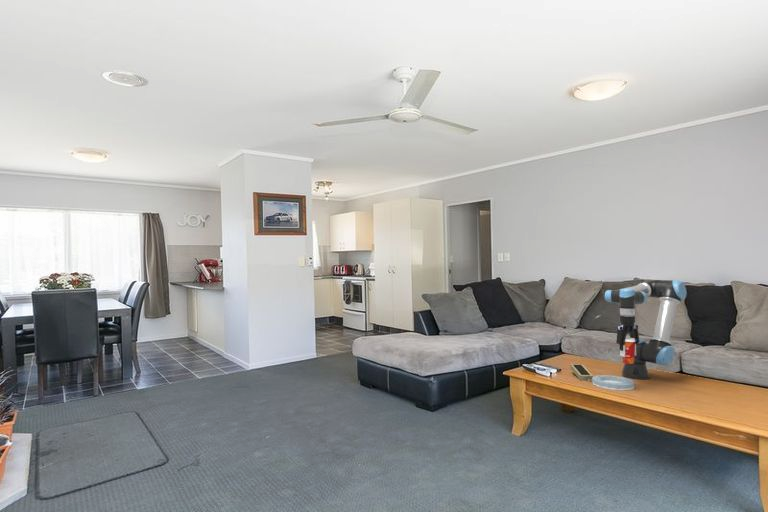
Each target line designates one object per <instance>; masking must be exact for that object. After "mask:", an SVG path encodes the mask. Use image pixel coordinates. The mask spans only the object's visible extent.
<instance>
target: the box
mask: <svg viewBox="0 0 768 512" xmlns="http://www.w3.org/2000/svg"><path fill="white" fill-rule="evenodd" d="M569 365H570V370H571V371H572V373H574V374H575V376H576V377H577V379H579V380H580V381H587V382H588V383H592V377H594V375H593V374H592V373H591V372H590V371H589V370H588V369H587V368H586V366H585V365H584V364H583V363H570V364H569Z"/></svg>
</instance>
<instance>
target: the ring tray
mask: <svg viewBox="0 0 768 512" xmlns="http://www.w3.org/2000/svg"><path fill="white" fill-rule="evenodd" d="M591 383H592V385H594V386H595V387H598V388H601V389H605V390H611V391H612V390H613V391H631V390H634V389H635V386H636V385H635V383H636V382H635V381H634V380H633V379H632V378H628V377H625V376H617V375H610V374H609V375H605V374H604V375H603V374H601V375H593V377H592V382H591Z"/></svg>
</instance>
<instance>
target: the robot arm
mask: <svg viewBox="0 0 768 512" xmlns="http://www.w3.org/2000/svg"><path fill="white" fill-rule="evenodd" d="M687 294H688V293H687V288H686V285H685V283H684V282H683V281H681V280H675V279H672V280H669V279H667V280H666V279H654V280H653V279H652V280H648V281H644V282H640V283H637V285H633V286H628V287H624V288H620V289H619V288H618V289H616V290H615V289H614V290H613V289H607V290H606V291H605V293H604V300H605V301H606V302H607V303H613V304H614V303H615V304H617V303H618V304H619V315H620V316H619V321H620V323H621V325H620V326H618V325H617V326H616V329H617V331H616V342H615V343H616V344H617V345H619V352H620V353H619V356H620V357H622V356H623V357H625V345H624V342H625V339H626V338H627V335H629V338H634V339H635V354H634V364H626V363H623V364H624V365H623V367H622V370H621V376H622V377H624V378H627V379H635V380H647V379H650V372H649V370H648V367H647V363H651V364H657V365H661V366H663V365H664V366H667V365H669V364H671V363H672V362H673V360H674V357H675V349H674V347H673V346H672V345H673V344H672V343H671V342H670V340H671V334H672V329H673V325H674V320H675V314H676V310H677V306H678V305H680V304H681V301H682V300H685V299H686V298H687ZM648 298H655V299H656V298H657V299H658V300H659V301H660V304H659V308H658V313H657V318H656V322H655V327H654V332H653V334H652V335H653V337H652V338H650V339H649V341H648V342H647V341H646V339H640V336H639V335H640V334H639V325H637V324H635V323H636V316H635V315H636V312H635V311H636V310H635V309H636V307H635V306H636V305H643V304H645V303H646V302H647V300H648Z"/></svg>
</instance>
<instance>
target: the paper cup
mask: <svg viewBox="0 0 768 512" xmlns="http://www.w3.org/2000/svg"><path fill="white" fill-rule="evenodd" d="M624 345H625V357H623V356H621V357H622V363H623V364H625V363H626V364H634V354H635V339H634V338H630V337H628V336H626V339H625V342H624Z"/></svg>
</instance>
